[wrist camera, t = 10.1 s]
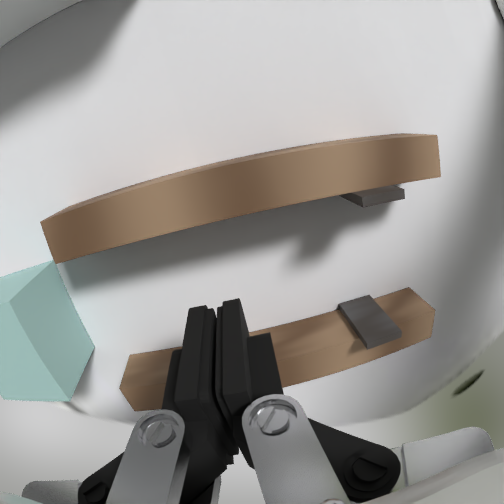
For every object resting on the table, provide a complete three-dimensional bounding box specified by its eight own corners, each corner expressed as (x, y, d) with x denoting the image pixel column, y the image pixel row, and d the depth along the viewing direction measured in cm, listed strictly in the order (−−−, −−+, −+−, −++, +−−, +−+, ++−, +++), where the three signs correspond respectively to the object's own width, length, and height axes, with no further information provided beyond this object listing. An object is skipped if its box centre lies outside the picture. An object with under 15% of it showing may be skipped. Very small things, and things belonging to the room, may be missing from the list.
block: (55, 258, 14) (9, 301, 10) (95, 345, 16) (70, 401, 12) (-6, 278, 14) (-49, 316, 9) (32, 353, 16) (3, 399, 12)
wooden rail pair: (402, 133, 14) (450, 136, 10) (407, 312, 18) (439, 346, 14) (68, 206, 13) (28, 228, 10) (142, 377, 17) (132, 424, 14)
